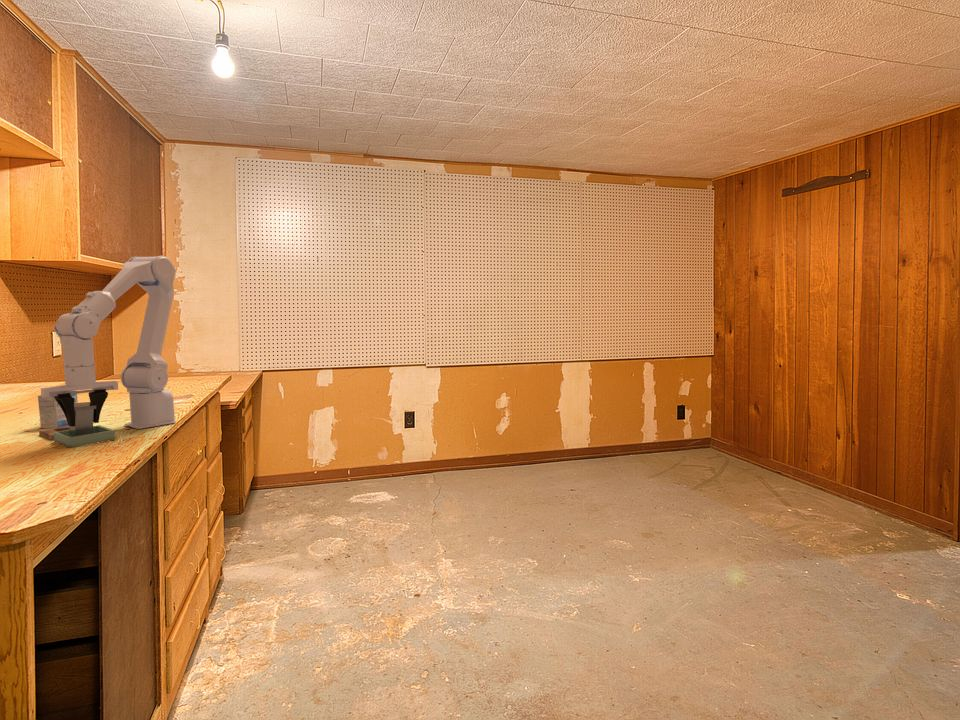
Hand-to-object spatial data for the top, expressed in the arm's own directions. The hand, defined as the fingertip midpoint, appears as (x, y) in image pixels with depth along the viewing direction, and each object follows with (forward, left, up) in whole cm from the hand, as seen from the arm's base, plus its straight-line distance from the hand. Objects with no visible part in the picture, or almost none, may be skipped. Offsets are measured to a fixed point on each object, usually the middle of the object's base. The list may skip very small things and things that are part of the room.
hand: (83, 424), depth 128 cm
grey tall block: (0, -1, -3) cm, 3 cm away
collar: (0, -11, -4) cm, 12 cm away
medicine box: (-2, -24, -4) cm, 25 cm away
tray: (0, 0, -4) cm, 4 cm away
